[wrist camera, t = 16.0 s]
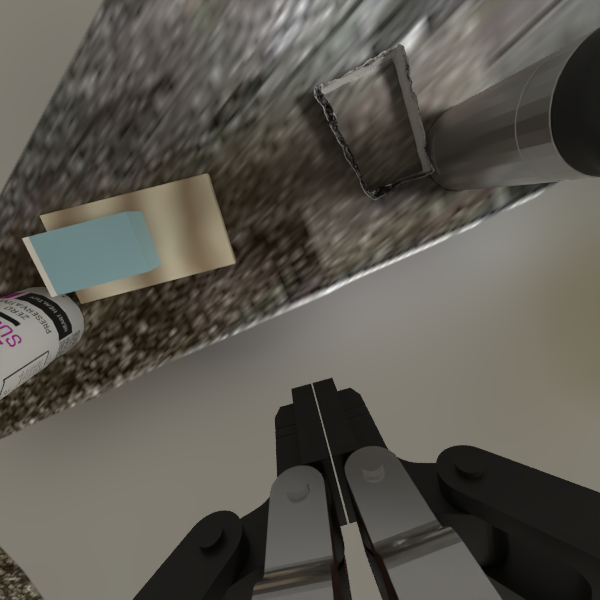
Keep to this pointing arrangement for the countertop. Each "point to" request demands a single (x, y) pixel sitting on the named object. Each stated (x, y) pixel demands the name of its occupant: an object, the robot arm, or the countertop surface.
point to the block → (93, 252)
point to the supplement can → (34, 333)
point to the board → (161, 231)
